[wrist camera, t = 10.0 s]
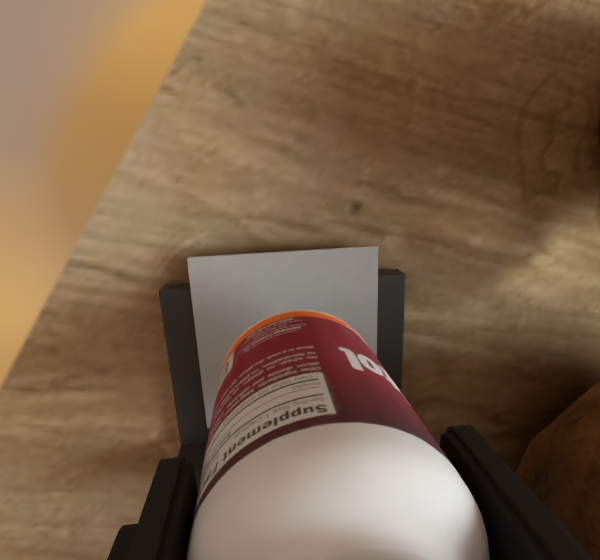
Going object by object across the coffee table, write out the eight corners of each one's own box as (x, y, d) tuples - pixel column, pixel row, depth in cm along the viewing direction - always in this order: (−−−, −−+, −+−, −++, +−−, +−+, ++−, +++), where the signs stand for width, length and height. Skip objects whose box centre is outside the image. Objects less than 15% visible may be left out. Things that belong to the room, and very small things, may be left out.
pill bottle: (393, 398, 16) (666, 822, 5) (266, 464, 16) (289, 1008, 5) (332, 274, 14) (558, 542, 4) (190, 349, 14) (8, 819, 4)
